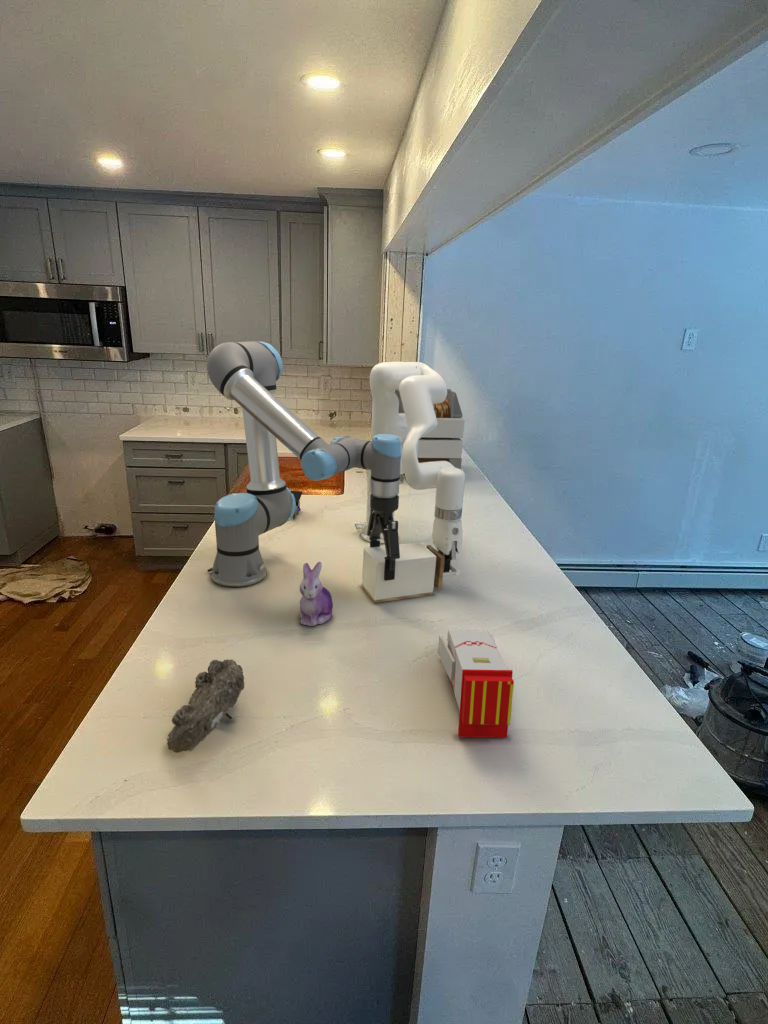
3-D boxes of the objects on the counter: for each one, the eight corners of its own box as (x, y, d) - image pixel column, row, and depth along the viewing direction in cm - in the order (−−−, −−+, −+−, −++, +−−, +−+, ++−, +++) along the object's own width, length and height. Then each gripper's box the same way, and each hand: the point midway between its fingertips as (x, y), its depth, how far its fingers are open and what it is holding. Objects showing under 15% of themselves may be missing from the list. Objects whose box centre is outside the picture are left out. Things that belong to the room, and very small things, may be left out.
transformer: (382, 463, 289) (386, 382, 275) (445, 464, 293) (451, 384, 279) (390, 482, 257) (394, 392, 243) (460, 483, 261) (468, 394, 247)
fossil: (192, 660, 117) (244, 628, 112) (224, 691, 120) (276, 661, 115) (142, 746, 98) (202, 712, 93) (182, 779, 101) (242, 748, 96)
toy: (488, 613, 130) (523, 677, 101) (484, 667, 133) (517, 744, 104) (435, 612, 130) (455, 676, 101) (432, 666, 133) (451, 743, 103)
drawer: (444, 573, 170) (447, 543, 166) (459, 586, 162) (462, 555, 159) (376, 581, 162) (378, 550, 159) (388, 596, 154) (391, 564, 151)
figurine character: (298, 524, 207) (303, 507, 221) (298, 506, 204) (302, 489, 217) (280, 524, 207) (285, 506, 220) (279, 505, 204) (285, 488, 217)
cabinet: (417, 578, 167) (420, 542, 164) (432, 594, 158) (436, 556, 154) (361, 585, 161) (363, 548, 157) (374, 603, 152) (377, 563, 148)
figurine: (305, 631, 137) (304, 575, 132) (291, 611, 146) (290, 558, 141) (340, 623, 142) (342, 569, 137) (325, 604, 150) (326, 552, 145)
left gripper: (416, 507, 140) (411, 587, 147) (381, 480, 159) (379, 552, 167) (388, 509, 137) (384, 591, 144) (356, 482, 157) (355, 555, 164)
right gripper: (473, 520, 152) (467, 581, 158) (447, 502, 165) (442, 560, 171) (448, 522, 149) (443, 585, 156) (424, 504, 163) (420, 563, 169)
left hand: (381, 570), depth 156 cm, fingers closed on cabinet, 10 cm apart
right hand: (443, 571), depth 163 cm, fingers closed
